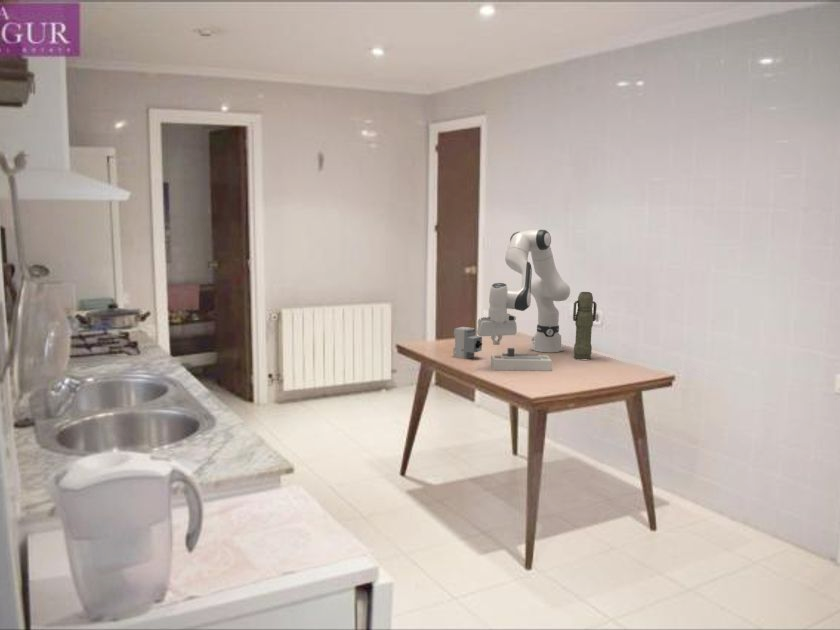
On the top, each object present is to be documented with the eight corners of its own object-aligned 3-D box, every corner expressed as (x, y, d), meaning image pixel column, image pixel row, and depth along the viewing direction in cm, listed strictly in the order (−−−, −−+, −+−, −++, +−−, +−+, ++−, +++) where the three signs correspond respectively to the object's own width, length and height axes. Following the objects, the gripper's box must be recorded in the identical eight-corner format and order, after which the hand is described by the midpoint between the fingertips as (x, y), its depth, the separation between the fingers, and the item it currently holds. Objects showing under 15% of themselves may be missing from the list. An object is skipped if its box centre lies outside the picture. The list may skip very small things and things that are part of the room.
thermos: (596, 359, 376) (600, 293, 371) (575, 360, 373) (579, 293, 368) (588, 356, 385) (592, 291, 379) (568, 357, 382) (571, 291, 377)
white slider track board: (490, 364, 362) (491, 352, 361) (546, 364, 362) (547, 353, 361) (493, 369, 349) (494, 357, 348) (551, 370, 349) (552, 358, 348)
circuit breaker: (476, 360, 369) (477, 331, 367) (453, 356, 378) (453, 328, 375) (484, 358, 375) (484, 329, 373) (461, 354, 383) (462, 326, 381)
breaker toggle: (507, 355, 356) (507, 348, 355) (513, 356, 356) (513, 348, 355) (508, 357, 353) (508, 349, 352) (514, 357, 353) (514, 349, 352)
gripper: (481, 318, 345) (480, 346, 347) (518, 317, 352) (517, 344, 354) (475, 316, 350) (474, 344, 352) (512, 315, 358) (511, 342, 360)
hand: (496, 344), depth 353 cm, fingers closed
